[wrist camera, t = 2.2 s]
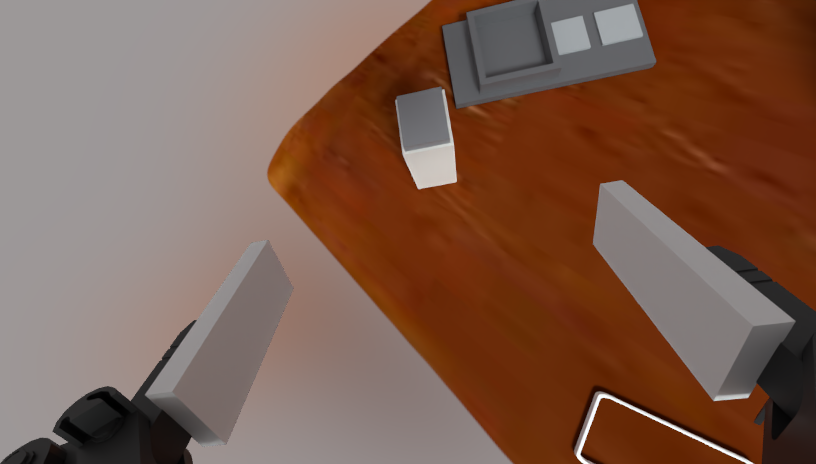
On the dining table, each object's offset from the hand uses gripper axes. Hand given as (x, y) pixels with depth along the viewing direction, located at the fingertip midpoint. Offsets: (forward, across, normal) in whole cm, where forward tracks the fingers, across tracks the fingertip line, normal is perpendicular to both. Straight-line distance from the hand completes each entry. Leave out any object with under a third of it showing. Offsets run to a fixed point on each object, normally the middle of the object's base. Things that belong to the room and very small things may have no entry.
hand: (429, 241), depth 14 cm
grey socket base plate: (+39, +16, 0) cm, 42 cm away
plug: (+30, 0, -9) cm, 31 cm away
